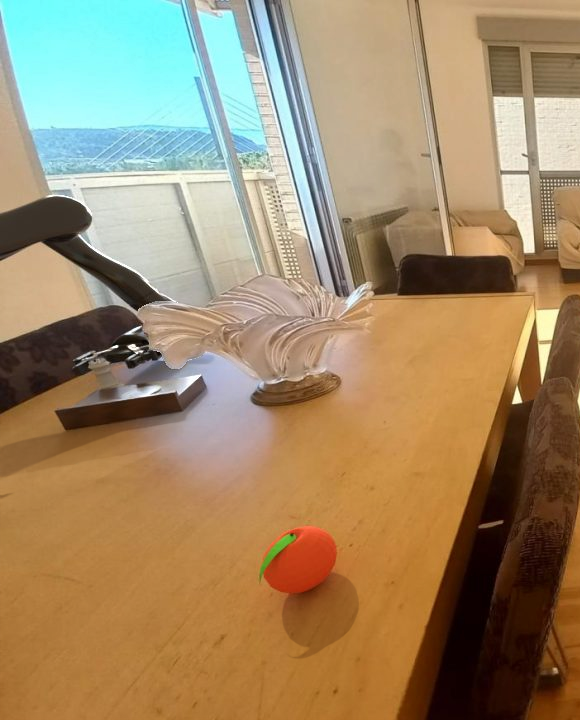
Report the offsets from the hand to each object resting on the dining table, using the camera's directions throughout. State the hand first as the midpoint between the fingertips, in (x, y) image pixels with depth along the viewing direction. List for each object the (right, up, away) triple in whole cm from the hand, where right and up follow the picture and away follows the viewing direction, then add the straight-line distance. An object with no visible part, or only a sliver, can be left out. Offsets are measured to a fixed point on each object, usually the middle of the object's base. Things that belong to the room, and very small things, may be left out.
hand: (103, 368), depth 101 cm
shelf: (+13, -8, -4) cm, 15 cm away
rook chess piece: (+1, -6, +2) cm, 6 cm away
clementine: (+75, -24, -47) cm, 92 cm away
